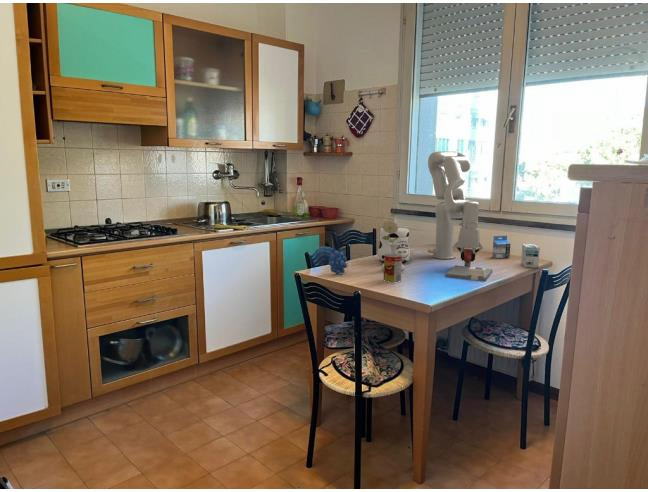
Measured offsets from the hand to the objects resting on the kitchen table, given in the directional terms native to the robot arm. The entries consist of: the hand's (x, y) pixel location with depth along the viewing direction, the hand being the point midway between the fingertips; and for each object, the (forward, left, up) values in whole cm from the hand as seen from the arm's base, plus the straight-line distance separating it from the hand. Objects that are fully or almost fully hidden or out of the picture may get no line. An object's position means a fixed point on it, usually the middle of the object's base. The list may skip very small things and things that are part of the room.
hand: (467, 260), depth 242 cm
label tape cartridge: (+12, +33, -4) cm, 35 cm away
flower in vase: (-32, -26, -4) cm, 41 cm away
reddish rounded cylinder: (0, 0, -3) cm, 3 cm away
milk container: (-38, -6, -4) cm, 39 cm away
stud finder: (+9, -22, -2) cm, 24 cm away
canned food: (-25, -45, -4) cm, 52 cm away
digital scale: (+4, -16, -4) cm, 17 cm away
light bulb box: (+28, +19, -4) cm, 34 cm away
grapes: (-51, -47, -4) cm, 69 cm away
